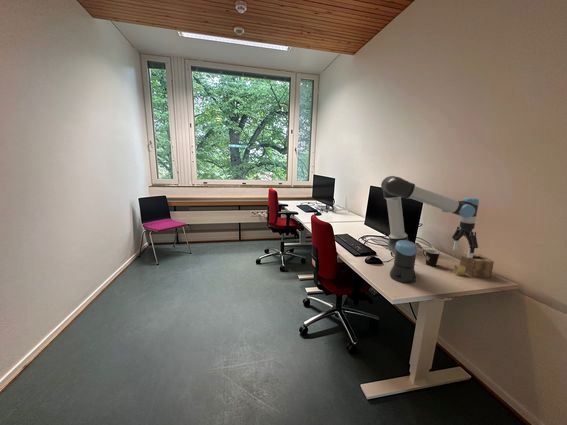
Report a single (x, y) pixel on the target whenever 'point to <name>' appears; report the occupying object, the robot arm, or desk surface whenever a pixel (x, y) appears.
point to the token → (459, 269)
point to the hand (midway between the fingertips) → (462, 253)
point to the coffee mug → (431, 257)
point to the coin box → (477, 265)
